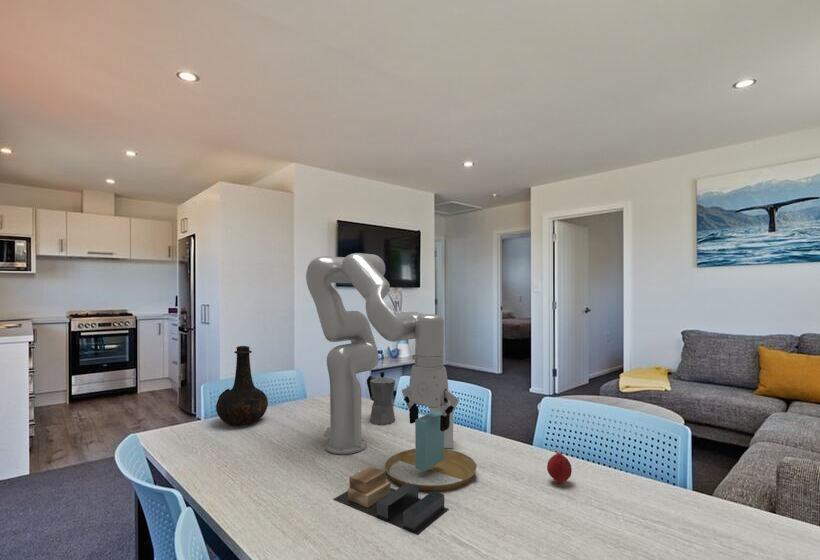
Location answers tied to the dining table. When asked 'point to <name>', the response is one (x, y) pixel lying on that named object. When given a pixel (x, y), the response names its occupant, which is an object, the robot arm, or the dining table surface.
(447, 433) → the milk carton
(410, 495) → the rack
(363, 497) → the offcut low
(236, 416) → the glass bottle
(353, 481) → the offcut high
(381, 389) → the coffeepot
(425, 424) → the teal board
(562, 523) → the dining table surface
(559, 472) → the onion
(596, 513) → the dining table surface
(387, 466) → the plant saucer
